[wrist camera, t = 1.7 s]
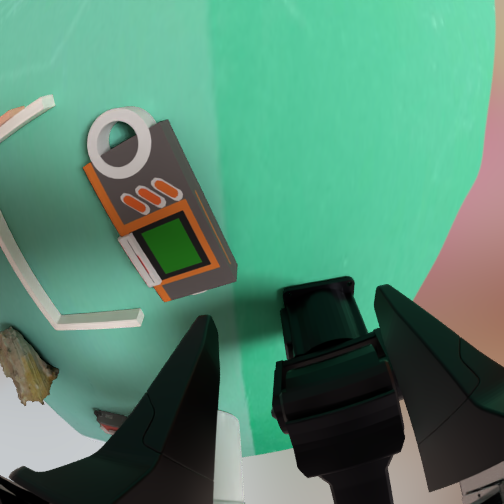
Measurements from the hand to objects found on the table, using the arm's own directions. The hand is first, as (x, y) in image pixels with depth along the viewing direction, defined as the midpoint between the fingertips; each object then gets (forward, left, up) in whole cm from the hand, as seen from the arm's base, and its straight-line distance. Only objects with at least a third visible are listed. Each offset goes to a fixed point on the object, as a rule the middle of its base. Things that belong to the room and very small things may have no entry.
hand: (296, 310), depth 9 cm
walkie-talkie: (+39, +46, -13) cm, 61 cm away
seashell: (+40, +17, -12) cm, 45 cm away
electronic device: (+8, 0, -13) cm, 15 cm away
